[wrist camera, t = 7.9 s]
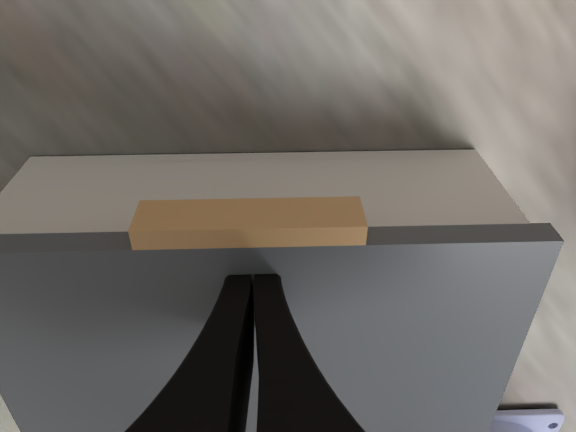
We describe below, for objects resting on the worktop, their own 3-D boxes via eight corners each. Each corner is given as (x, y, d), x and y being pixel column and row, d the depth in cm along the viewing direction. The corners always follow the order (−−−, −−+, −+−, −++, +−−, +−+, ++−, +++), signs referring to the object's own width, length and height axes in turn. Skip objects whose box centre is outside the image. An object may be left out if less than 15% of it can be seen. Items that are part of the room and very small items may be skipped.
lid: (456, 450, 22) (467, 483, 20) (67, 462, 21) (56, 497, 20) (546, 192, 14) (571, 222, 13) (-55, 203, 14) (-85, 235, 12)
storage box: (425, 366, 25) (456, 463, 21) (101, 374, 25) (67, 475, 21) (475, 149, 18) (535, 230, 14) (30, 156, 18) (-41, 242, 14)
